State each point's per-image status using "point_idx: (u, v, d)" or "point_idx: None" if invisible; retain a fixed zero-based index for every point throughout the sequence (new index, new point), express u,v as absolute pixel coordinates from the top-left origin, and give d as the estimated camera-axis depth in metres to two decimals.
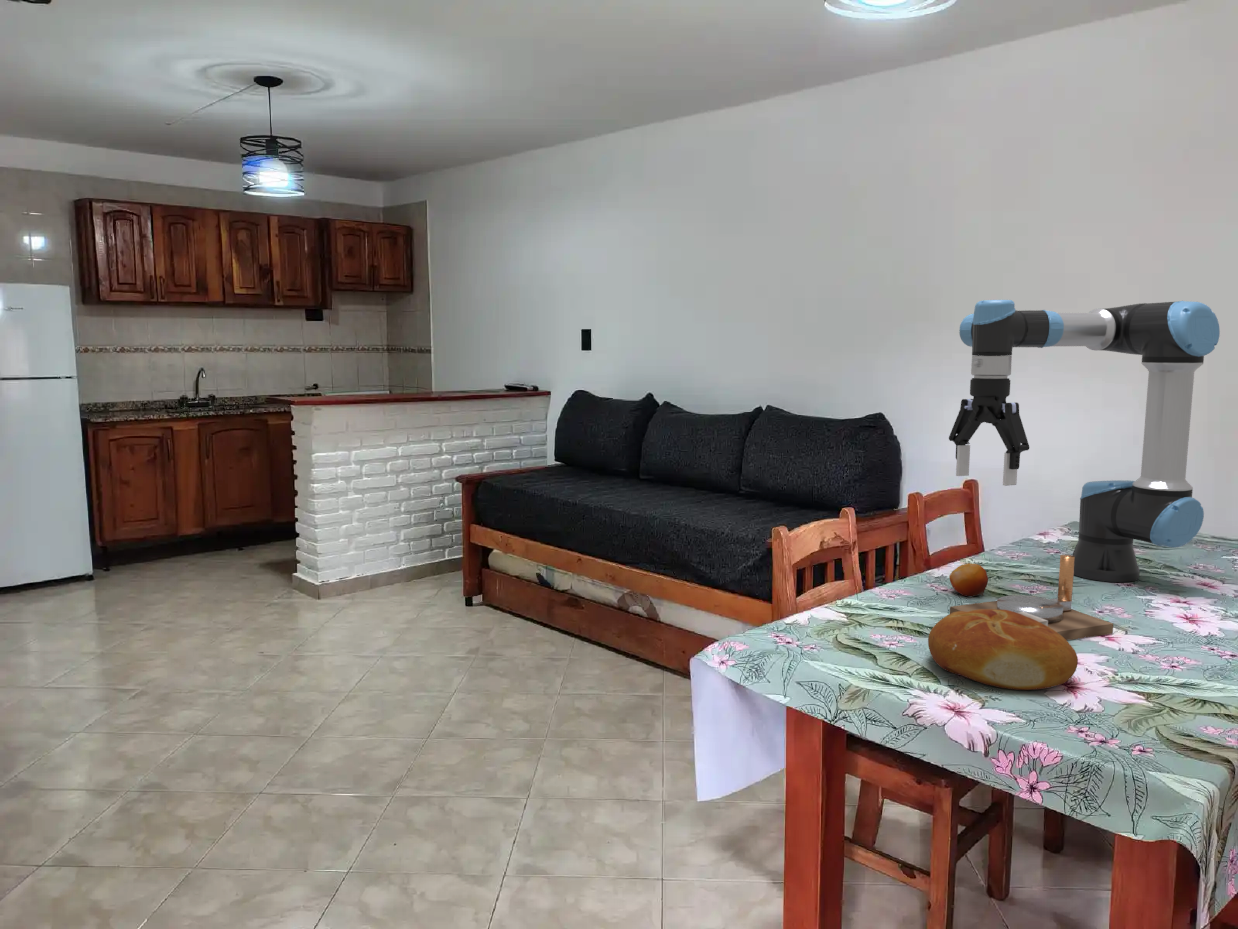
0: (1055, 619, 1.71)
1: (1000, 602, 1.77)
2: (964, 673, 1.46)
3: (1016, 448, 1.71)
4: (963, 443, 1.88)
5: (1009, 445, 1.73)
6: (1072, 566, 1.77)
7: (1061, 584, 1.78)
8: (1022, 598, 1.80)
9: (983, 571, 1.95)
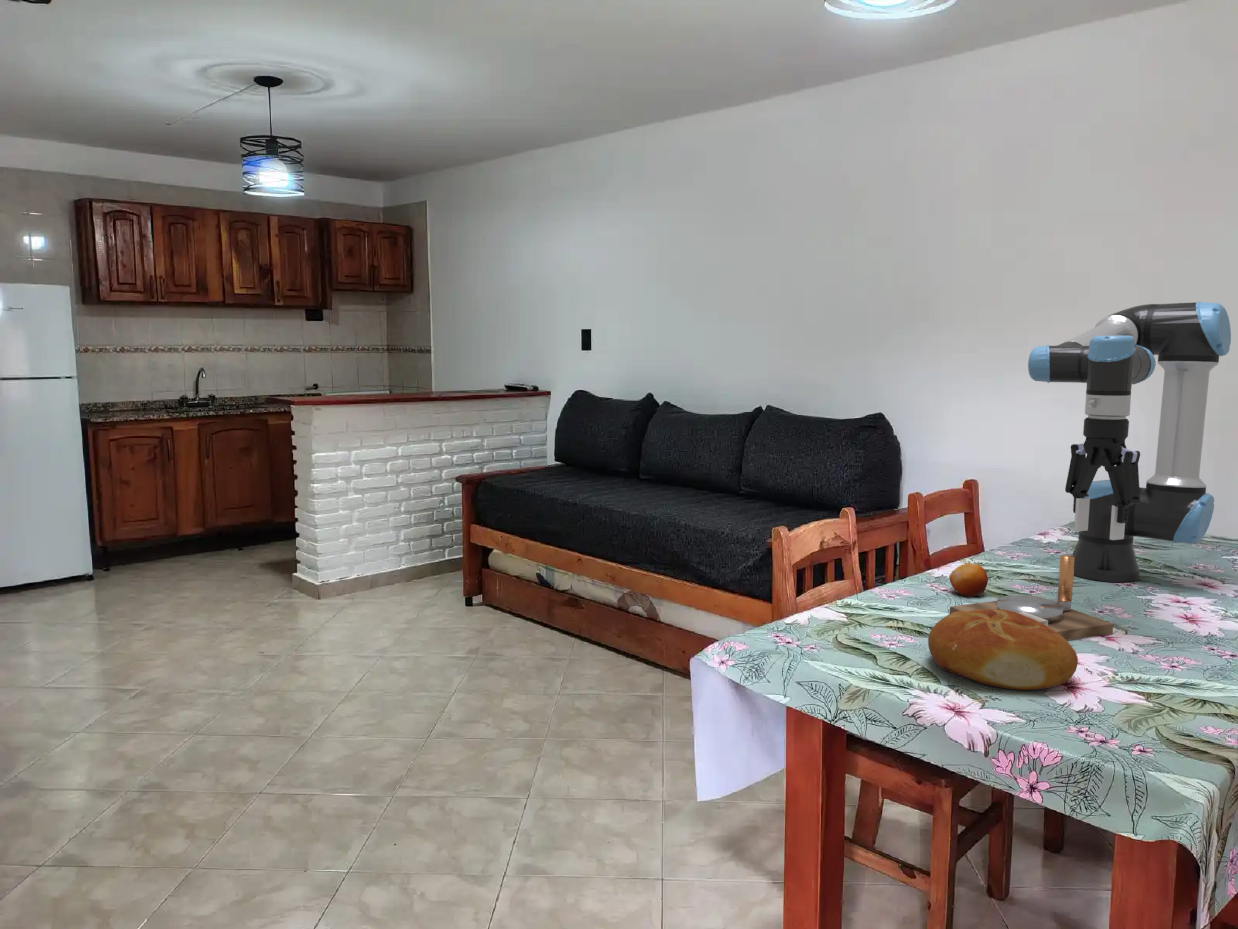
0: (1055, 619, 1.71)
1: (1000, 602, 1.77)
2: (964, 673, 1.46)
3: (1126, 501, 1.63)
4: (1082, 495, 1.74)
5: (1119, 498, 1.64)
6: (1072, 566, 1.77)
7: (1061, 584, 1.78)
8: (1022, 598, 1.80)
9: (983, 571, 1.95)
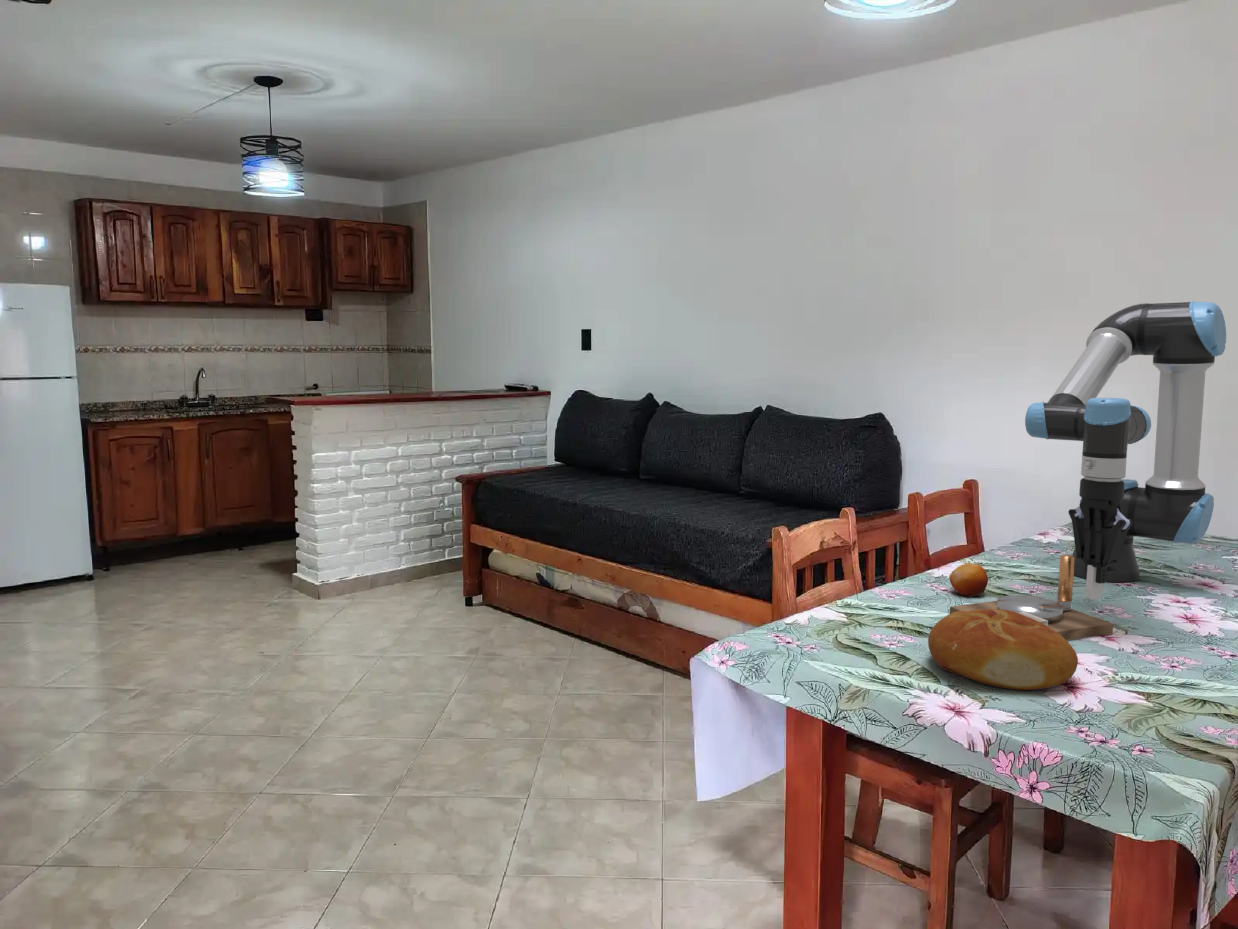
0: (1055, 619, 1.71)
1: (1000, 602, 1.77)
2: (964, 673, 1.46)
3: (1104, 562, 1.68)
4: (1094, 560, 1.72)
5: (1099, 560, 1.69)
6: (1072, 566, 1.77)
7: (1061, 584, 1.78)
8: (1022, 598, 1.80)
9: (983, 571, 1.95)
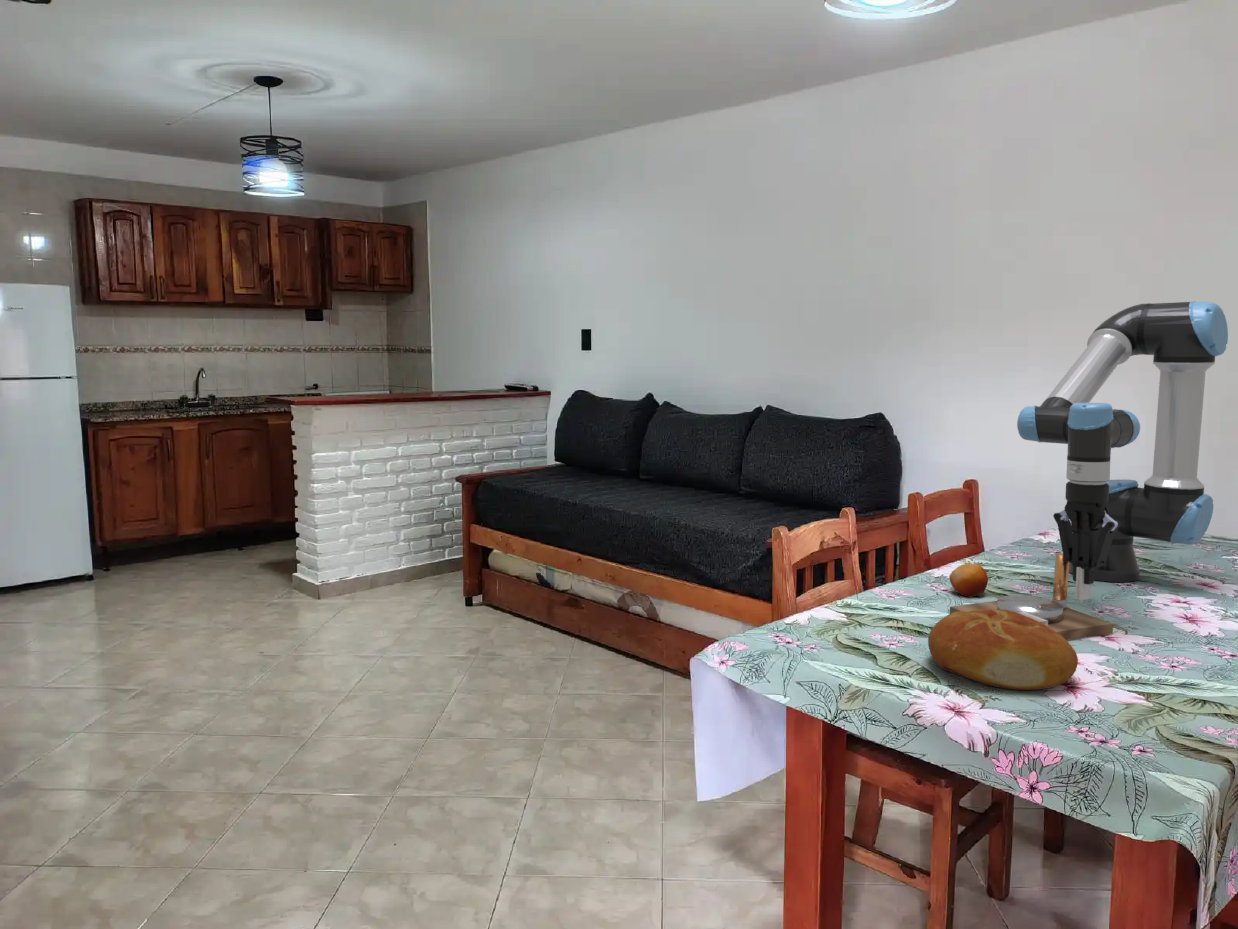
0: (1058, 619, 1.71)
1: (1000, 603, 1.77)
2: (964, 673, 1.46)
3: (1093, 564, 1.71)
4: (1082, 562, 1.75)
5: (1087, 561, 1.73)
6: (1068, 565, 1.78)
7: (1057, 583, 1.79)
8: (1020, 598, 1.80)
9: (983, 571, 1.95)
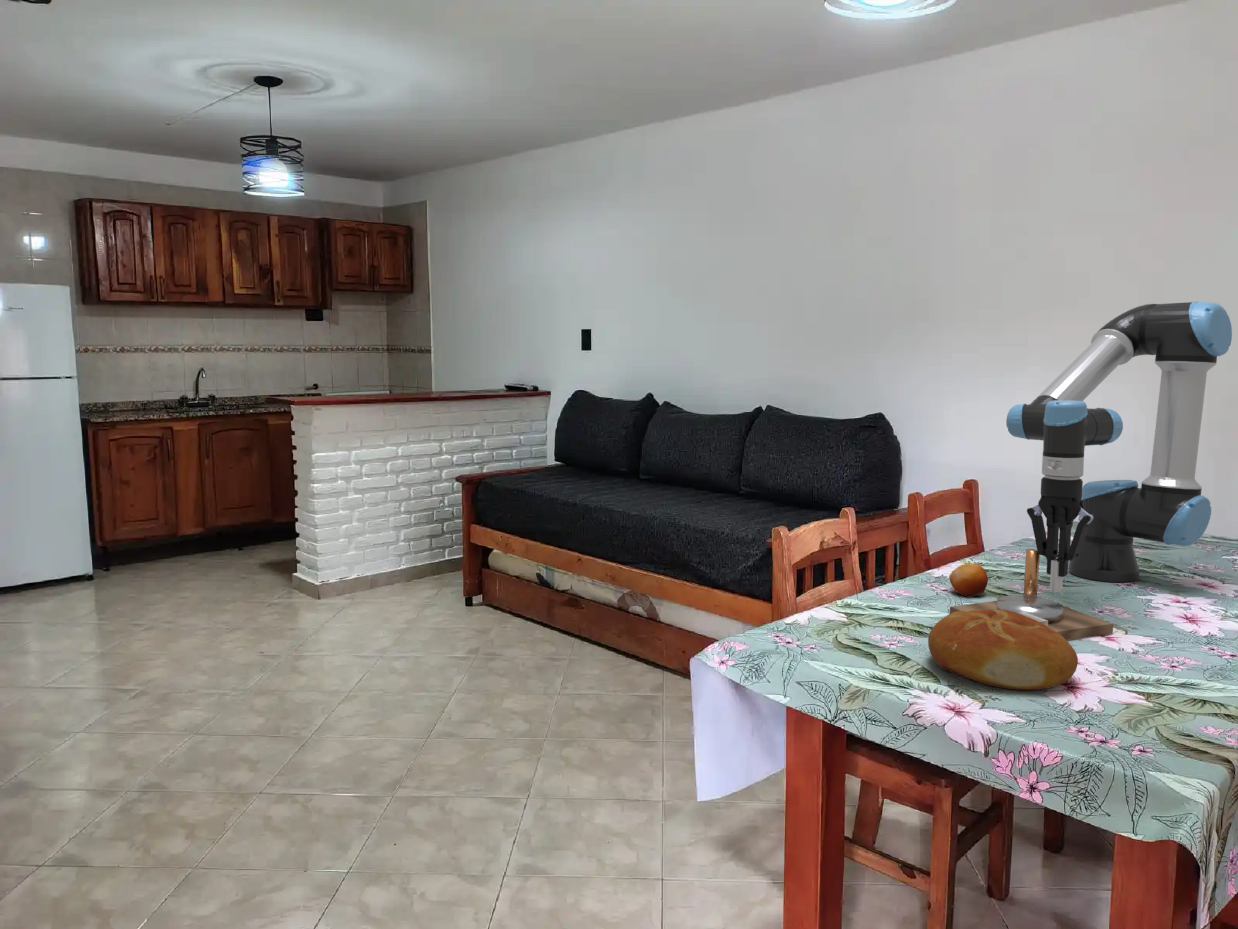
0: None
1: (1012, 608, 1.73)
2: (964, 673, 1.46)
3: (1069, 557, 1.76)
4: (1055, 555, 1.80)
5: (1063, 554, 1.77)
6: None
7: (1032, 578, 1.82)
8: (1011, 599, 1.79)
9: (983, 571, 1.95)
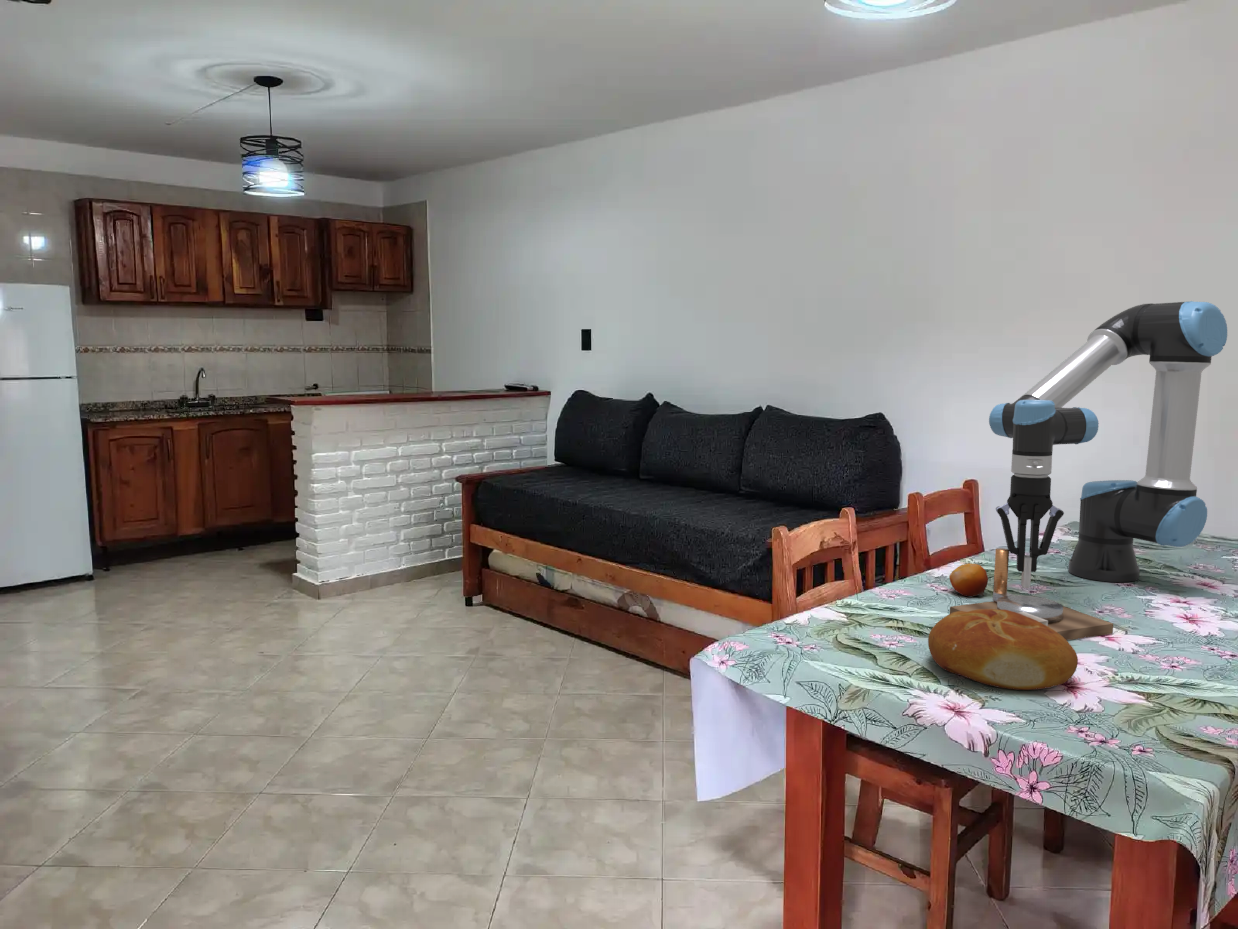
0: None
1: (1033, 611, 1.71)
2: (964, 673, 1.46)
3: (1043, 552, 1.81)
4: None
5: (1036, 550, 1.81)
6: None
7: (1005, 578, 1.83)
8: (1010, 603, 1.77)
9: (983, 571, 1.95)
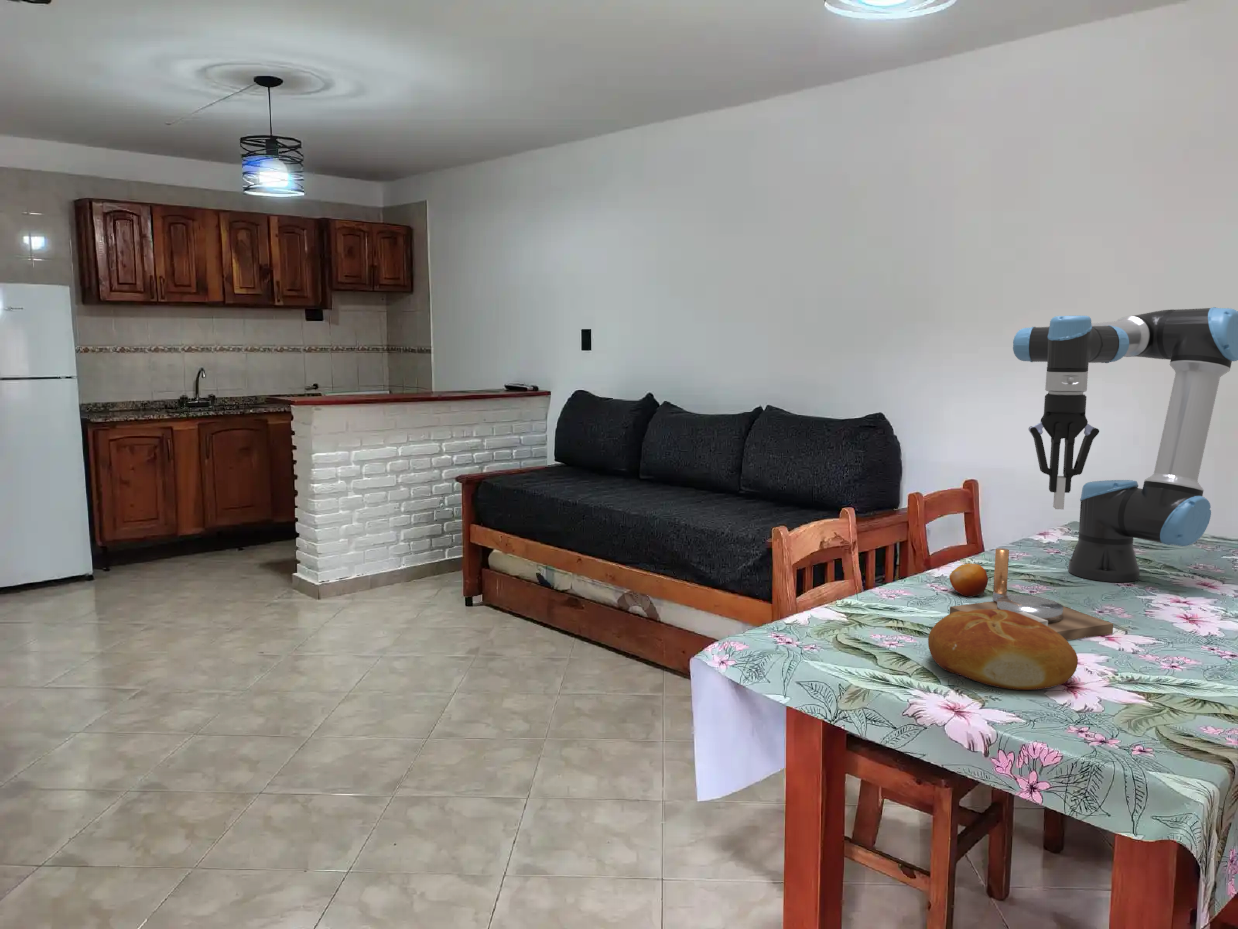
0: None
1: (1033, 611, 1.71)
2: (964, 673, 1.46)
3: (1077, 471, 1.78)
4: None
5: (1071, 470, 1.78)
6: None
7: (1005, 578, 1.83)
8: (1010, 603, 1.77)
9: (983, 571, 1.95)
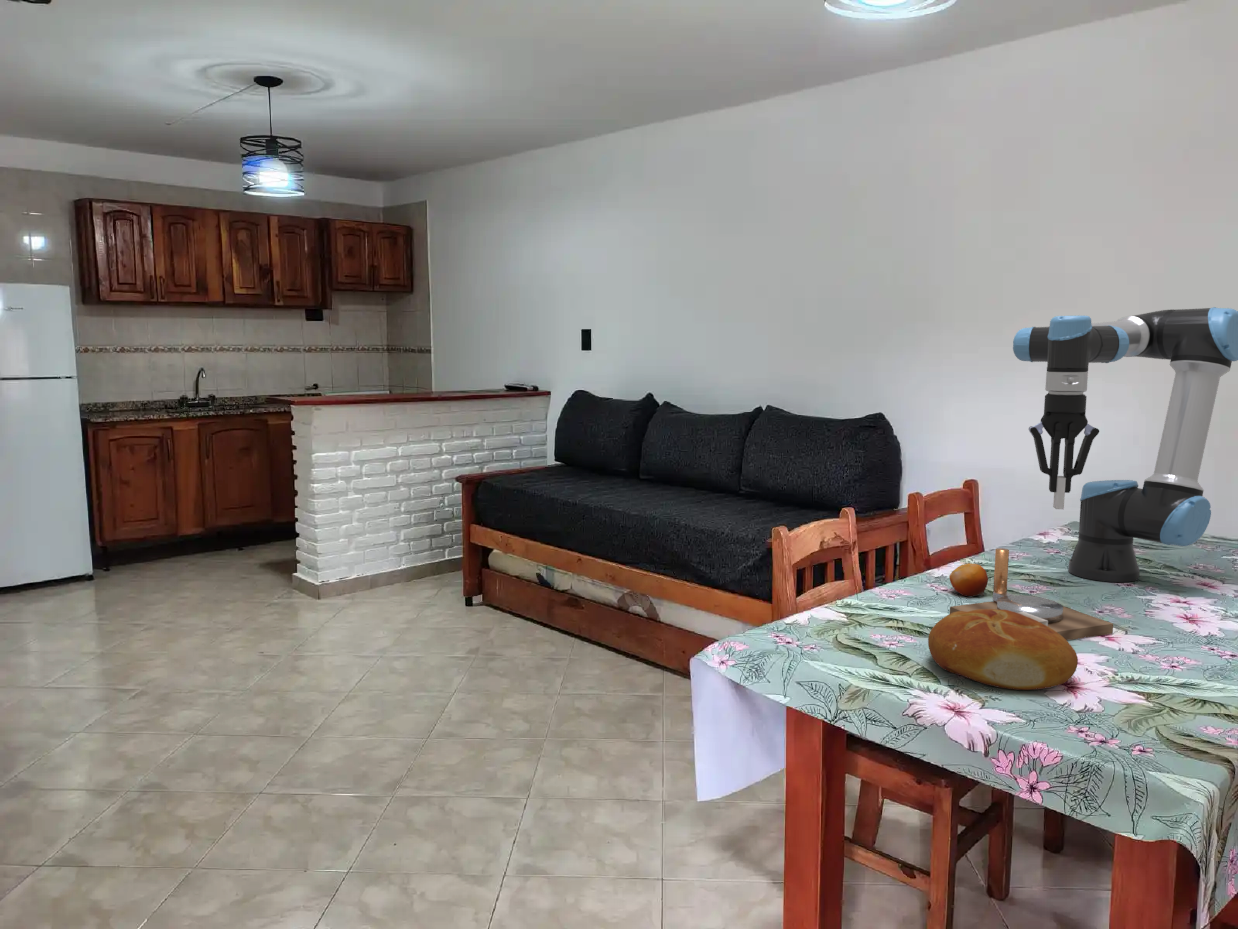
0: None
1: (1033, 611, 1.71)
2: (964, 673, 1.46)
3: (1077, 471, 1.78)
4: None
5: (1071, 470, 1.78)
6: None
7: (1005, 578, 1.83)
8: (1010, 603, 1.77)
9: (983, 571, 1.95)
